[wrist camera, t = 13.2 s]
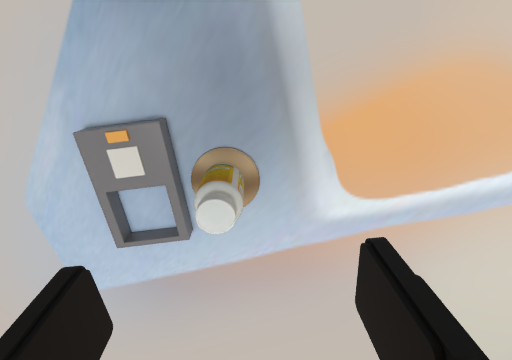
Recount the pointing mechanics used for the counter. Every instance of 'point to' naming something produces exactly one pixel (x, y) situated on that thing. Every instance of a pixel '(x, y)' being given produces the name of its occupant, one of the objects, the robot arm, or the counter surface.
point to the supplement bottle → (219, 198)
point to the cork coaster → (233, 158)
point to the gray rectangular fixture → (134, 175)
